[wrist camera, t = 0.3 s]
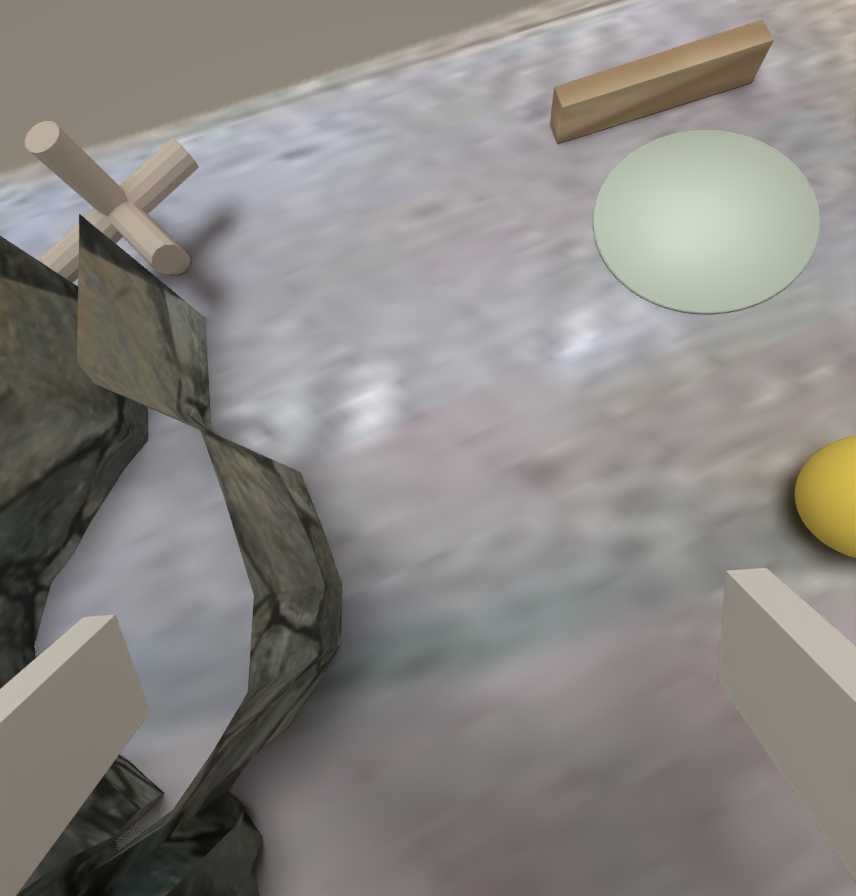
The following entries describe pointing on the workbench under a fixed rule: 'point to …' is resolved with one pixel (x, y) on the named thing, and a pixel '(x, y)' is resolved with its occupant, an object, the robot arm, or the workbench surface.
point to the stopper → (659, 81)
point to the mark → (706, 221)
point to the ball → (830, 495)
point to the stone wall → (75, 504)
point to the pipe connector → (114, 199)
